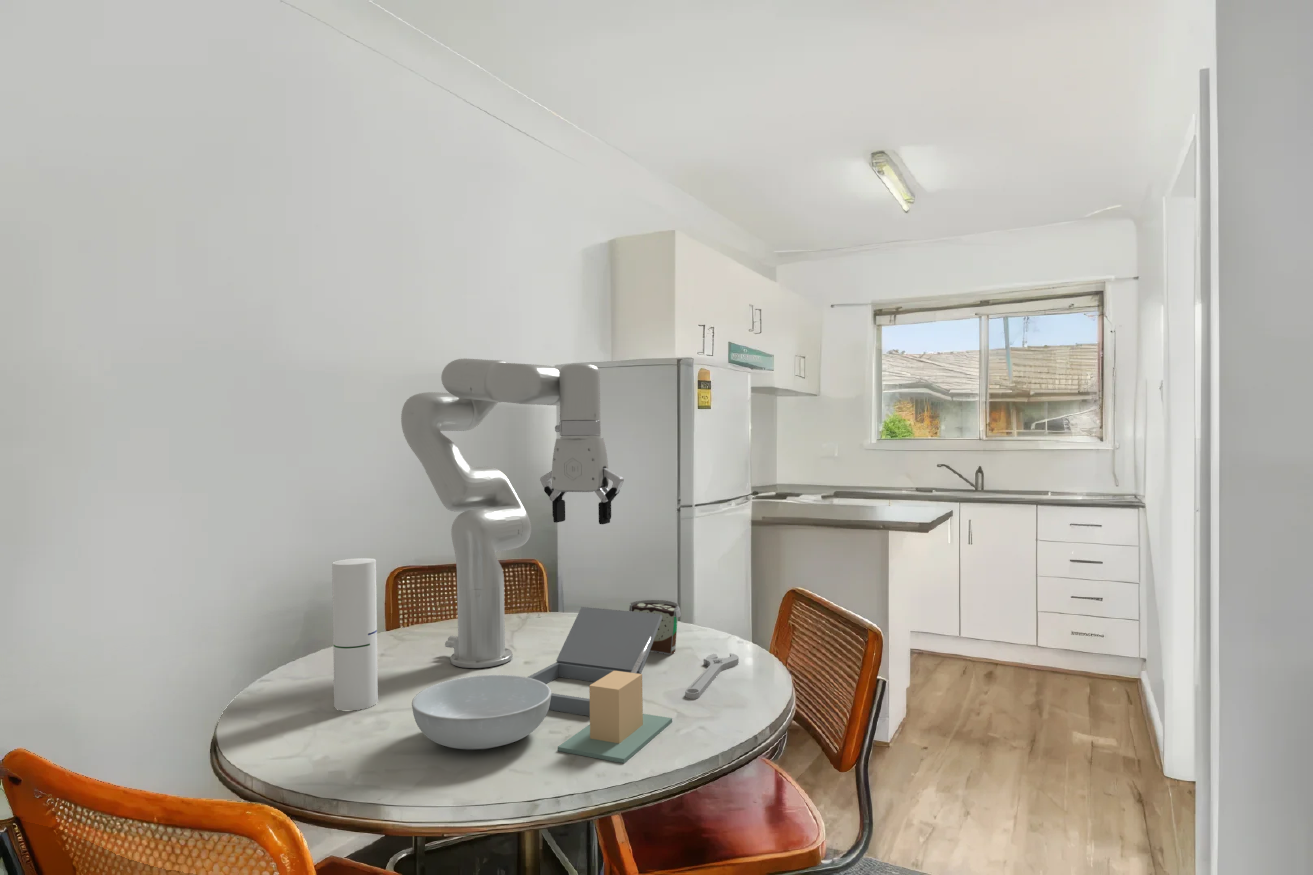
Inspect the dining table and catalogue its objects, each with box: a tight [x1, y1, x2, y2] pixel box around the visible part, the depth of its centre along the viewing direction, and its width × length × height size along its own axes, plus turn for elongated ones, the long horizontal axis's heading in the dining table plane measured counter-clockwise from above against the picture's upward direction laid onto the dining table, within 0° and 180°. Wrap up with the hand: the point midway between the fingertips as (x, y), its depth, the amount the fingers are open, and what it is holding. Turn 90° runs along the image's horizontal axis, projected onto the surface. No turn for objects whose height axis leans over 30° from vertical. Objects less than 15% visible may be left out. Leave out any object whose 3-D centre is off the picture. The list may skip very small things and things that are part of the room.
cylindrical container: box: [331, 557, 379, 711], centre depth 134 cm, size 7×7×25 cm
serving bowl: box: [411, 674, 552, 750], centre depth 118 cm, size 21×21×7 cm
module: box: [588, 671, 644, 743], centre depth 118 cm, size 5×8×8 cm, turn 155°
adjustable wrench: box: [684, 653, 740, 700], centre depth 146 cm, size 25×6×2 cm, turn 156°
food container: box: [628, 599, 682, 656], centre depth 166 cm, size 12×6×10 cm, turn 58°
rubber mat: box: [557, 713, 673, 764], centre depth 118 cm, size 11×17×1 cm, turn 155°
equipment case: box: [527, 606, 662, 717], centre depth 142 cm, size 18×27×11 cm, turn 155°
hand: (581, 522), depth 142 cm, fingers open, 9 cm apart
